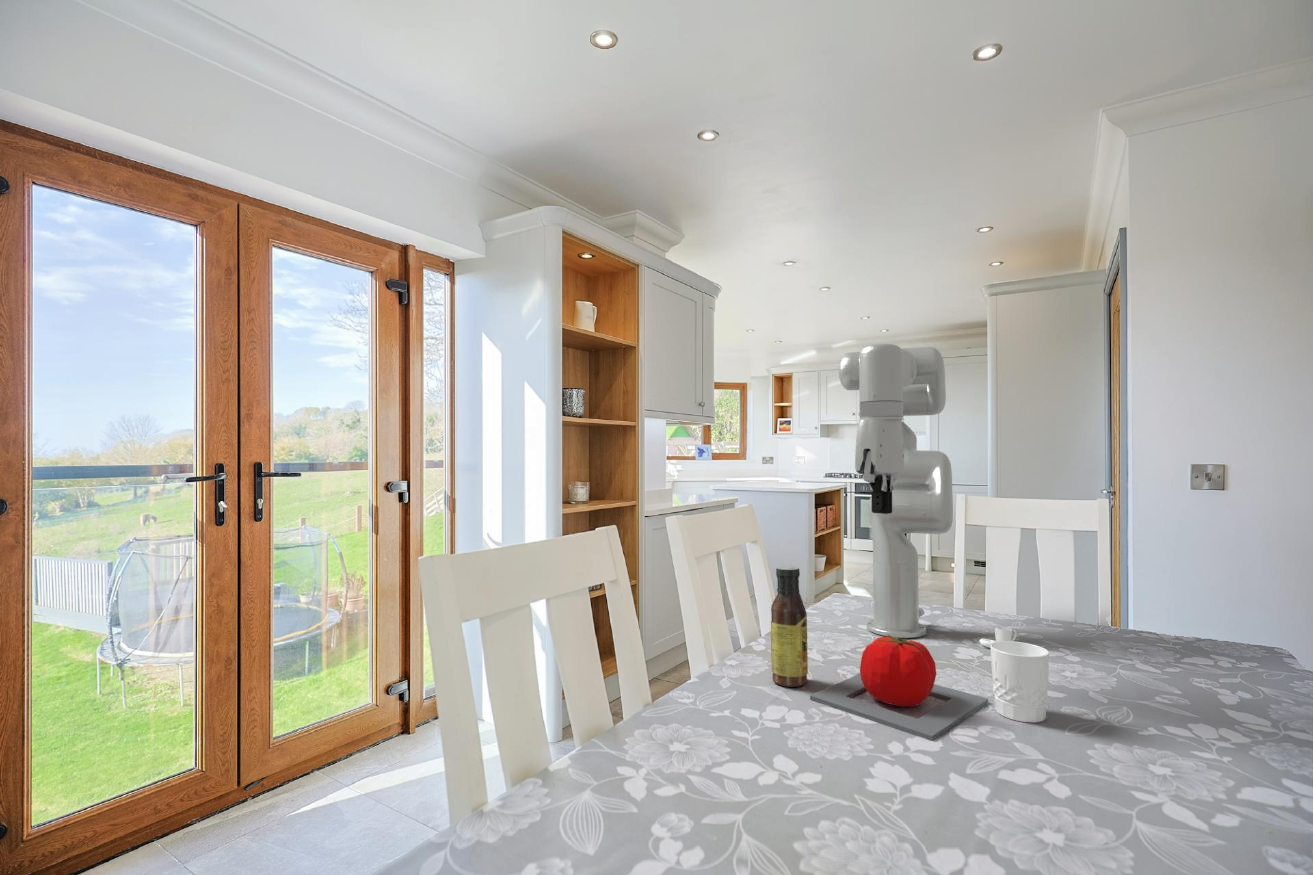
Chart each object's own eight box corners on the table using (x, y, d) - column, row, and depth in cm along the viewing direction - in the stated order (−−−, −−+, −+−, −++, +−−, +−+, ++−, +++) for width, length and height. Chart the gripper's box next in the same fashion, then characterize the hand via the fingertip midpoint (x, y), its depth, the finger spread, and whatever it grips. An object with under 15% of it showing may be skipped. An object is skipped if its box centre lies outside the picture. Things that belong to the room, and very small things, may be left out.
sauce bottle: (811, 689, 108) (810, 571, 109) (774, 688, 108) (773, 571, 109) (803, 675, 115) (802, 564, 115) (768, 675, 115) (768, 564, 115)
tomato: (888, 719, 96) (887, 650, 96) (846, 692, 107) (845, 630, 107) (955, 711, 99) (954, 644, 99) (907, 685, 110) (906, 625, 110)
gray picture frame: (873, 670, 117) (873, 667, 117) (988, 702, 102) (988, 698, 102) (810, 699, 104) (810, 695, 104) (932, 740, 89) (931, 736, 89)
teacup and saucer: (981, 651, 130) (981, 631, 130) (974, 640, 137) (974, 621, 137) (1030, 655, 127) (1030, 635, 127) (1020, 644, 135) (1020, 624, 135)
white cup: (1034, 704, 101) (1033, 641, 102) (1060, 726, 94) (1059, 657, 94) (982, 703, 102) (981, 640, 102) (1004, 723, 94) (1003, 655, 95)
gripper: (882, 415, 124) (883, 509, 124) (840, 412, 114) (841, 514, 114) (920, 413, 119) (921, 512, 118) (879, 409, 109) (880, 517, 108)
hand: (881, 512), depth 116 cm, fingers closed
